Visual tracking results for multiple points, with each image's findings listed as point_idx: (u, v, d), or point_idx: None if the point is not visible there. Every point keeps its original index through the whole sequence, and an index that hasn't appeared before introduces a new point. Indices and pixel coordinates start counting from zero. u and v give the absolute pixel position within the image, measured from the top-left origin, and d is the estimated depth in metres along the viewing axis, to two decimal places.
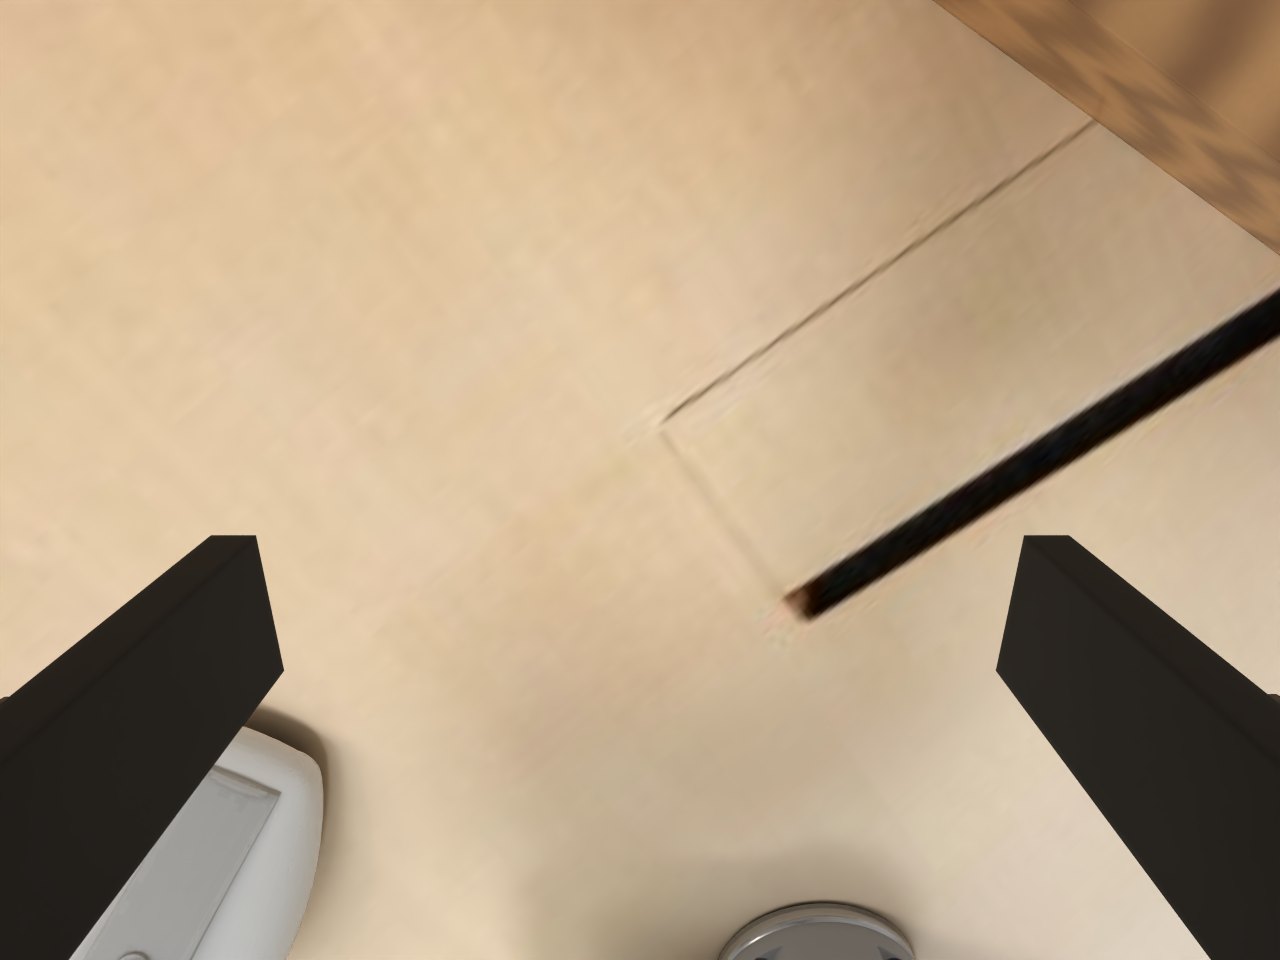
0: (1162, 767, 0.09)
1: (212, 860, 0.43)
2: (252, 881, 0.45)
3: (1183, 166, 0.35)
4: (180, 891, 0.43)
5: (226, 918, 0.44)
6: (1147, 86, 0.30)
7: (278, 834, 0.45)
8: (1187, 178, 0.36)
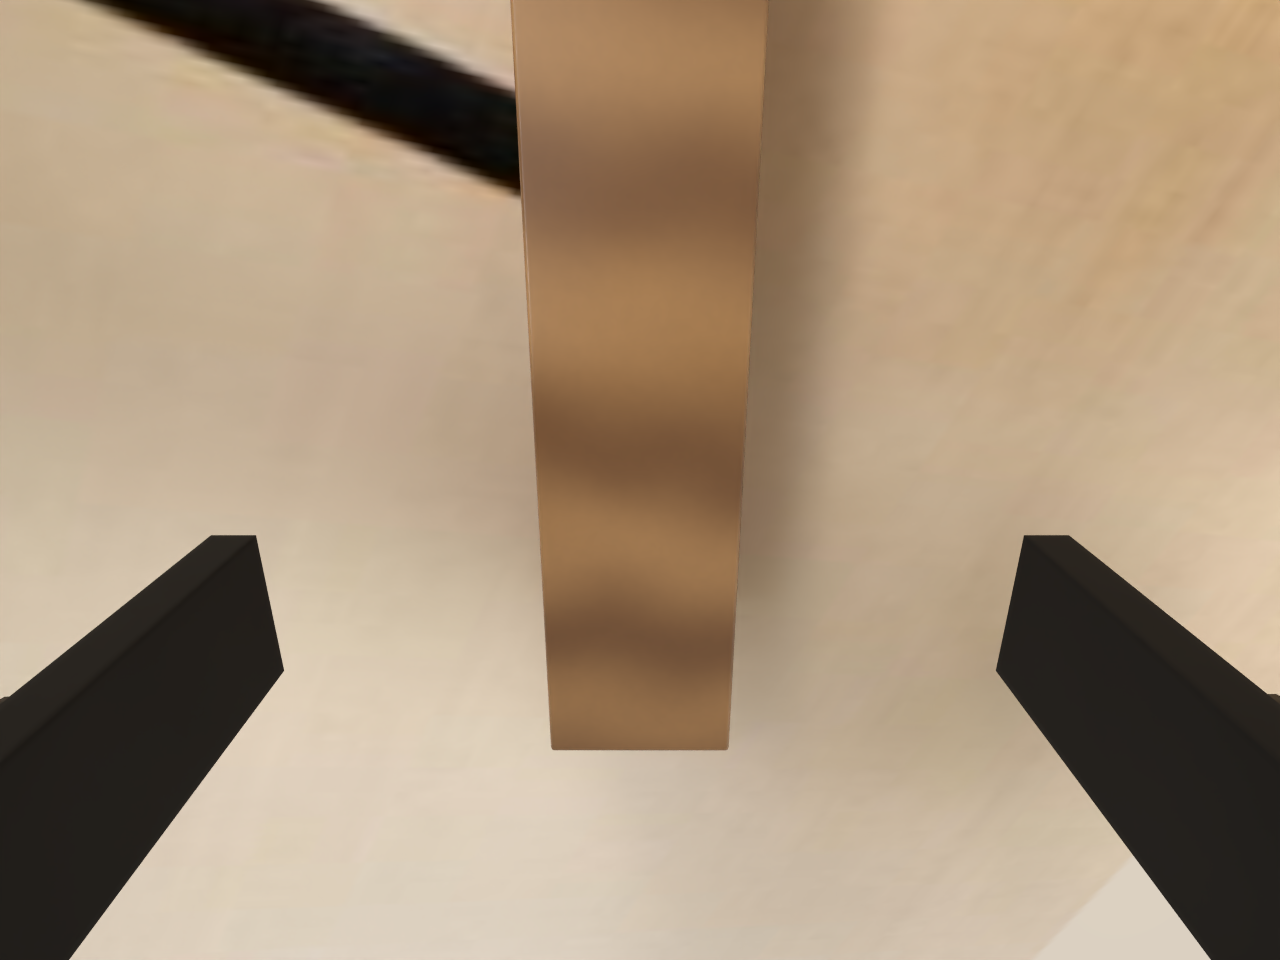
0: (1162, 767, 0.09)
1: None
2: None
3: None
4: None
5: None
6: None
7: None
8: None
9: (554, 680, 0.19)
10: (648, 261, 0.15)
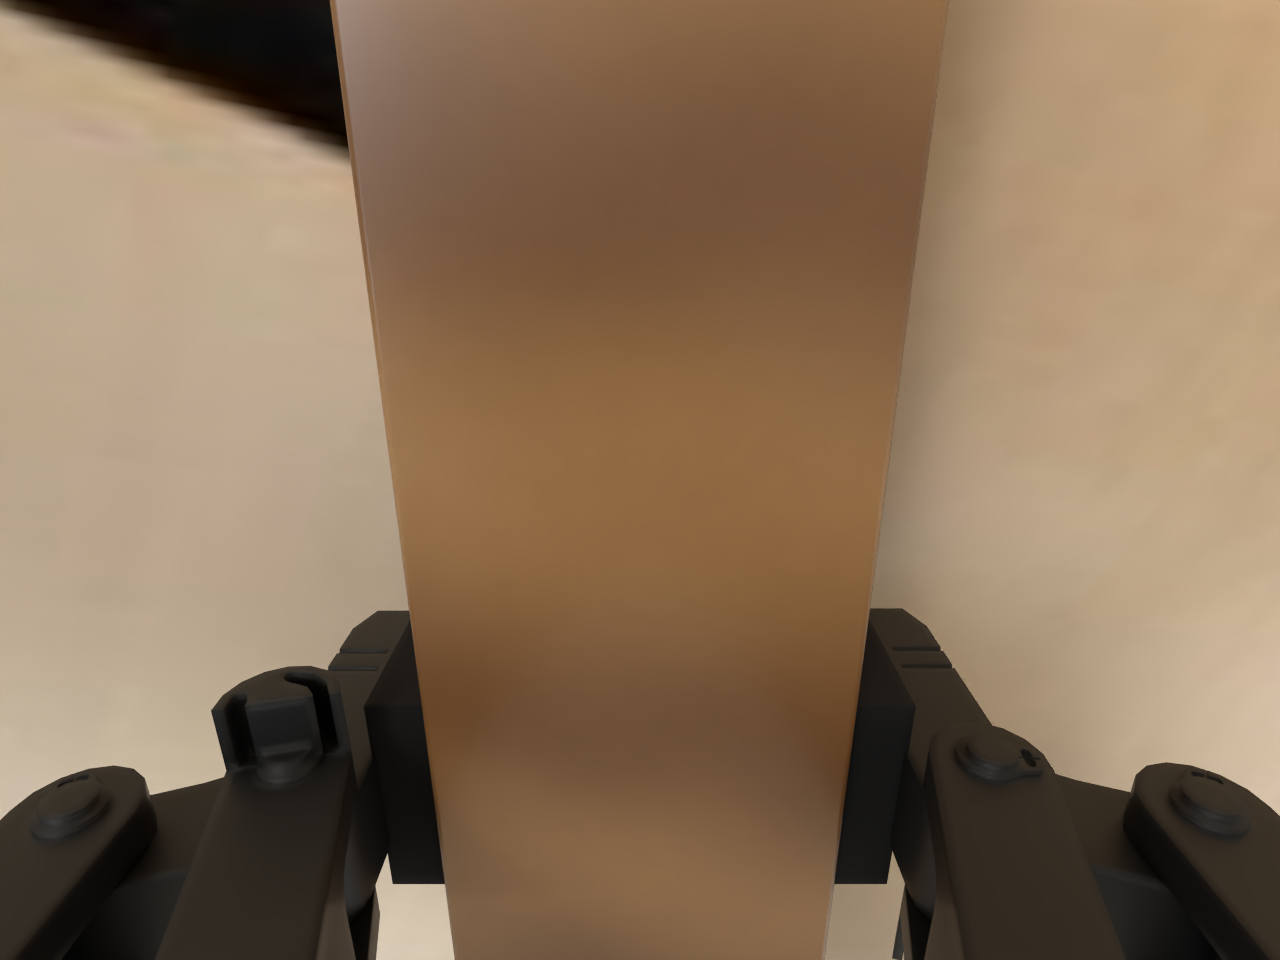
0: None
1: None
2: None
3: None
4: None
5: None
6: None
7: None
8: None
9: None
10: (660, 350, 0.06)
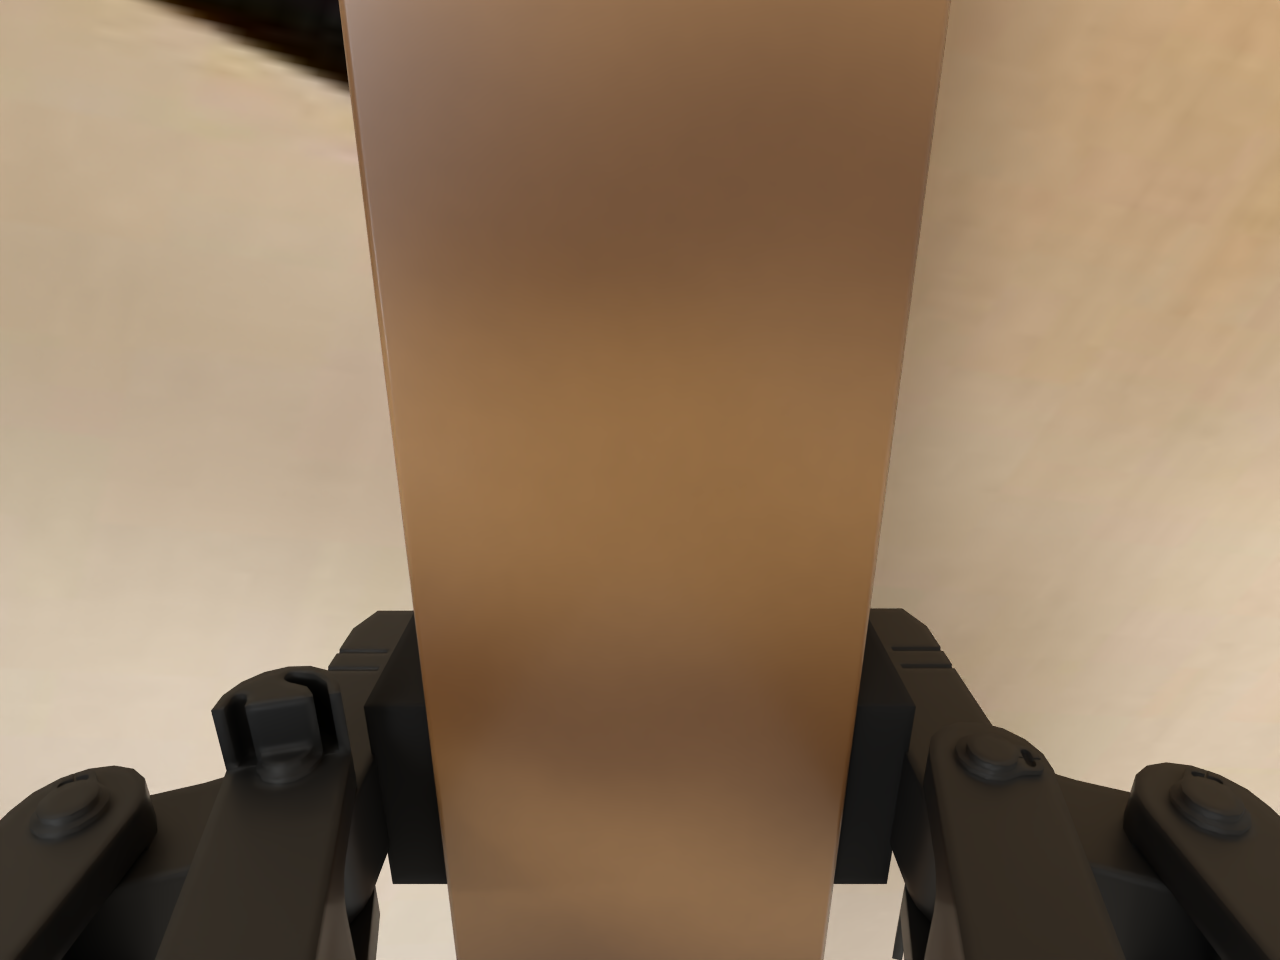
0: None
1: None
2: None
3: None
4: None
5: None
6: None
7: None
8: None
9: None
10: (663, 345, 0.07)
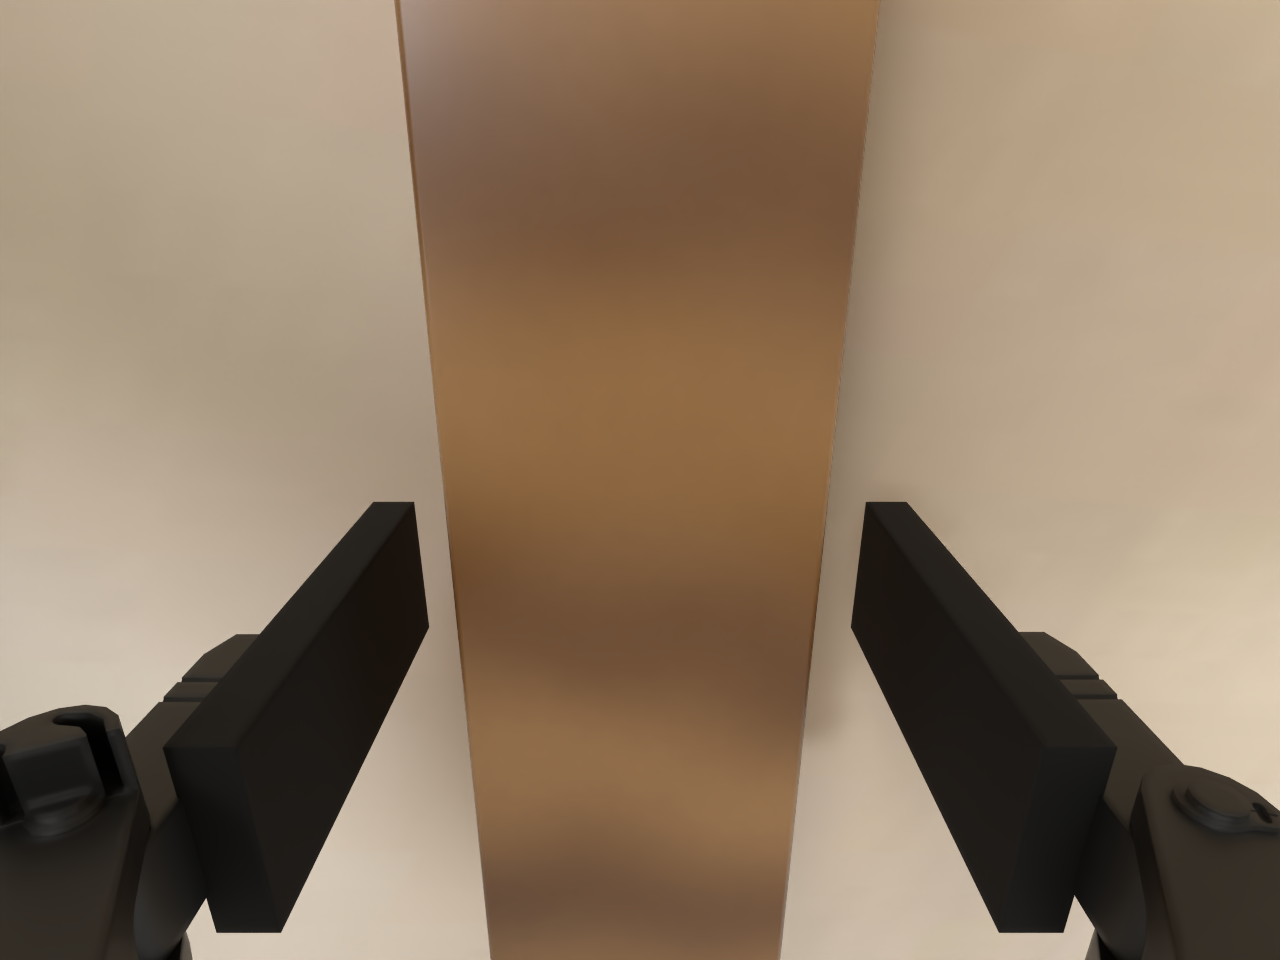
0: (937, 693, 0.10)
1: None
2: None
3: None
4: None
5: None
6: None
7: None
8: None
9: (500, 958, 0.12)
10: (653, 315, 0.08)
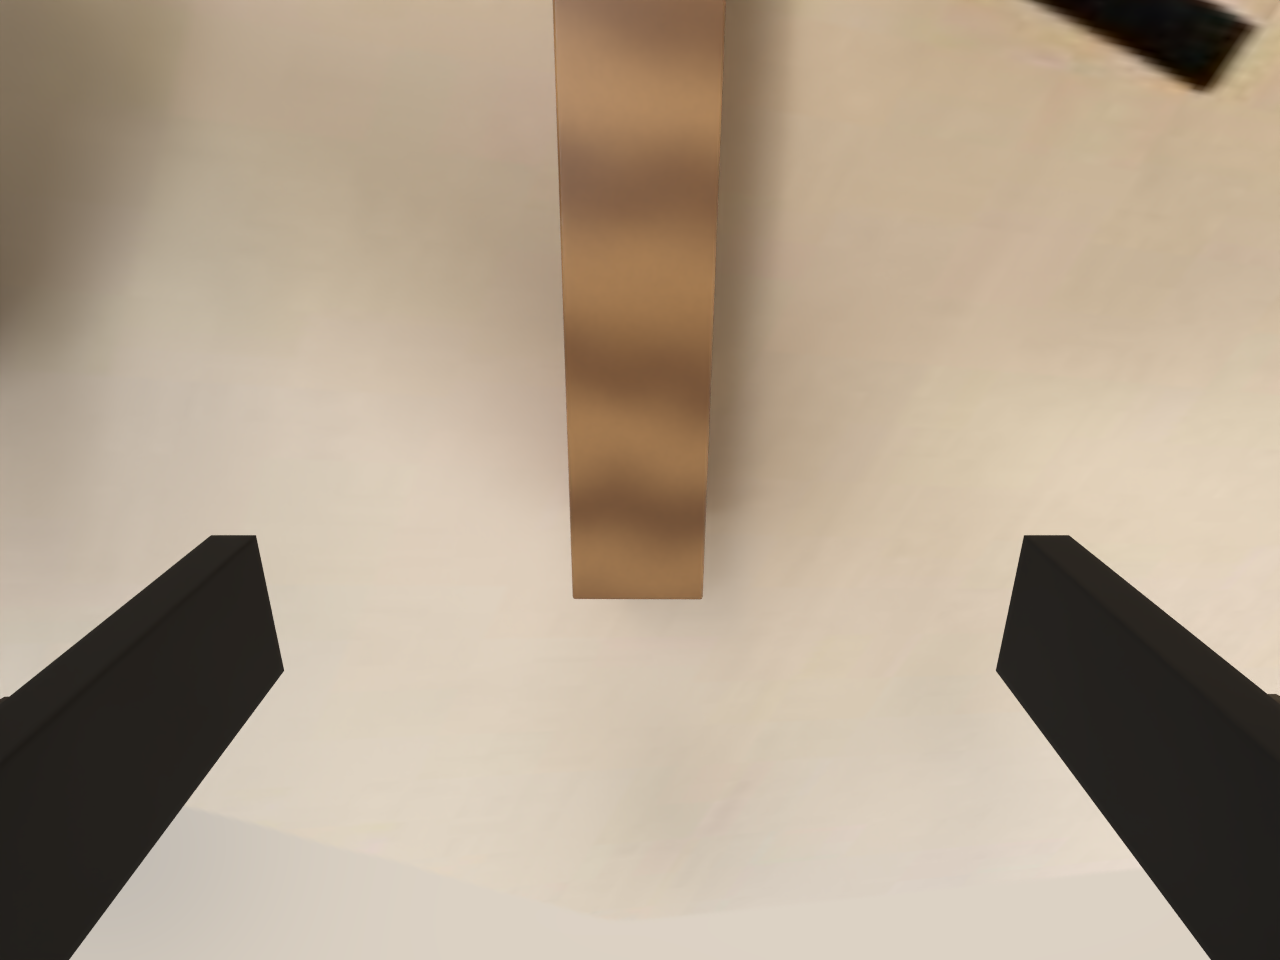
0: (1162, 767, 0.09)
1: None
2: None
3: None
4: None
5: None
6: None
7: None
8: None
9: (575, 543, 0.26)
10: (644, 237, 0.22)
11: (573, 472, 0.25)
